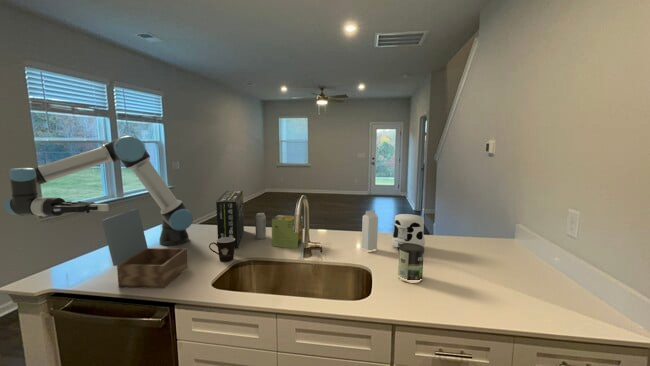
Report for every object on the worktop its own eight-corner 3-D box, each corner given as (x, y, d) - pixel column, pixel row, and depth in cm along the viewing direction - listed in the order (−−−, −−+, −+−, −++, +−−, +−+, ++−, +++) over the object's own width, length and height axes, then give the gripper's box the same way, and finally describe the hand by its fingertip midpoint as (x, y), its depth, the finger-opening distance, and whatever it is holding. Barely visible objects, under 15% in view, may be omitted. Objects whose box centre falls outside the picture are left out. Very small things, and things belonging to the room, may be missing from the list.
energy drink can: (257, 236, 185) (256, 212, 183) (266, 236, 185) (266, 212, 183) (254, 239, 179) (254, 214, 177) (264, 239, 179) (264, 215, 177)
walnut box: (118, 287, 117) (116, 265, 116) (148, 266, 137) (147, 247, 136) (164, 288, 117) (163, 266, 116) (187, 267, 137) (187, 248, 136)
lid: (116, 265, 116) (113, 266, 116) (147, 247, 136) (144, 248, 136) (104, 219, 114) (101, 220, 114) (138, 208, 134) (135, 208, 134)
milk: (361, 249, 164) (362, 210, 161) (370, 248, 167) (371, 209, 164) (367, 253, 159) (368, 212, 156) (377, 251, 161) (378, 211, 159)
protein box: (298, 248, 165) (298, 220, 163) (271, 246, 168) (271, 218, 166) (303, 242, 175) (303, 216, 173) (278, 240, 178) (278, 214, 176)
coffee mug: (239, 257, 150) (238, 238, 148) (228, 264, 142) (227, 243, 140) (219, 254, 153) (219, 235, 152) (208, 260, 145) (207, 240, 144)
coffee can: (425, 276, 131) (427, 245, 129) (418, 286, 122) (420, 252, 120) (401, 271, 136) (403, 241, 134) (394, 279, 127) (395, 247, 126)
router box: (226, 231, 195) (225, 190, 191) (244, 230, 197) (243, 190, 193) (216, 250, 160) (215, 200, 157) (238, 249, 162) (237, 200, 159)
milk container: (419, 244, 175) (420, 213, 172) (428, 254, 157) (430, 221, 155) (389, 243, 175) (390, 213, 173) (395, 254, 158) (396, 220, 156)
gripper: (64, 212, 130) (118, 213, 130) (35, 219, 117) (95, 220, 117) (62, 195, 129) (117, 196, 129) (33, 200, 117) (94, 201, 117)
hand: (107, 207), depth 123 cm, fingers closed
